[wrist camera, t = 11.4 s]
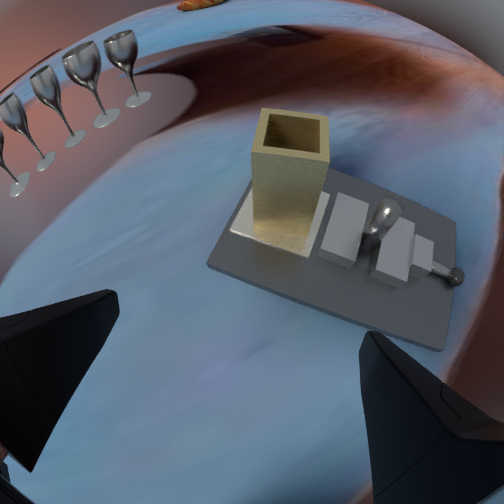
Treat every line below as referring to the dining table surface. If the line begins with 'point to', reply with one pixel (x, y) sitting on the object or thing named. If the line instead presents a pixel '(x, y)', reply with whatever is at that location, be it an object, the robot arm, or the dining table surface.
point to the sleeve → (288, 169)
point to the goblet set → (82, 73)
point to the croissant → (197, 4)
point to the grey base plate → (354, 260)
